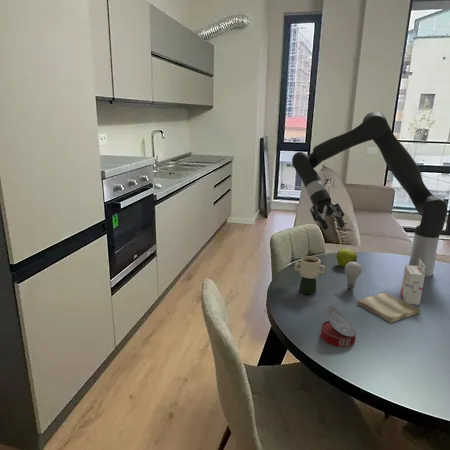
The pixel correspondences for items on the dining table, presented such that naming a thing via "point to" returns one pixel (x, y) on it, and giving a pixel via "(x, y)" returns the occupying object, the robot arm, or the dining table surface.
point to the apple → (345, 257)
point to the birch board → (388, 307)
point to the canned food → (338, 329)
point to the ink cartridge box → (413, 283)
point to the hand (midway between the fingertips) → (334, 228)
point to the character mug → (309, 273)
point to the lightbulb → (352, 273)
